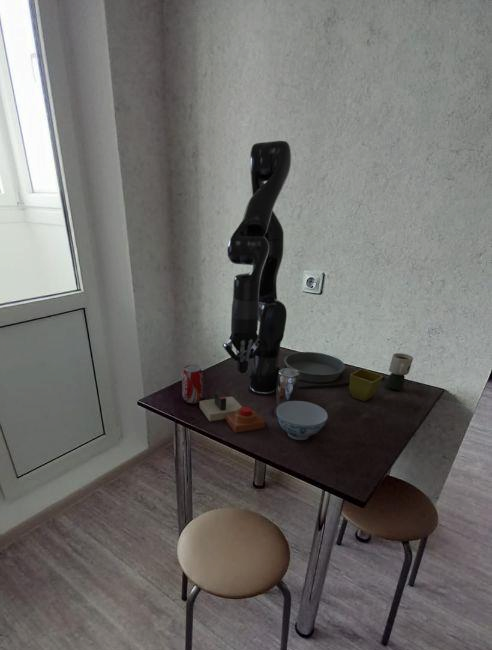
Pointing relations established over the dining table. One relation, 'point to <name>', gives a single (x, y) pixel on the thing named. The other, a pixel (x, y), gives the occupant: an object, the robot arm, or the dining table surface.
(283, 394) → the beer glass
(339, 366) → the cake pan
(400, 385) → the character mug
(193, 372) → the soda can
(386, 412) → the dining table surface
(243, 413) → the button
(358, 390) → the flower pot
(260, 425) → the housing
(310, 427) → the chinaware
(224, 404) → the oven dial
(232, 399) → the panel
